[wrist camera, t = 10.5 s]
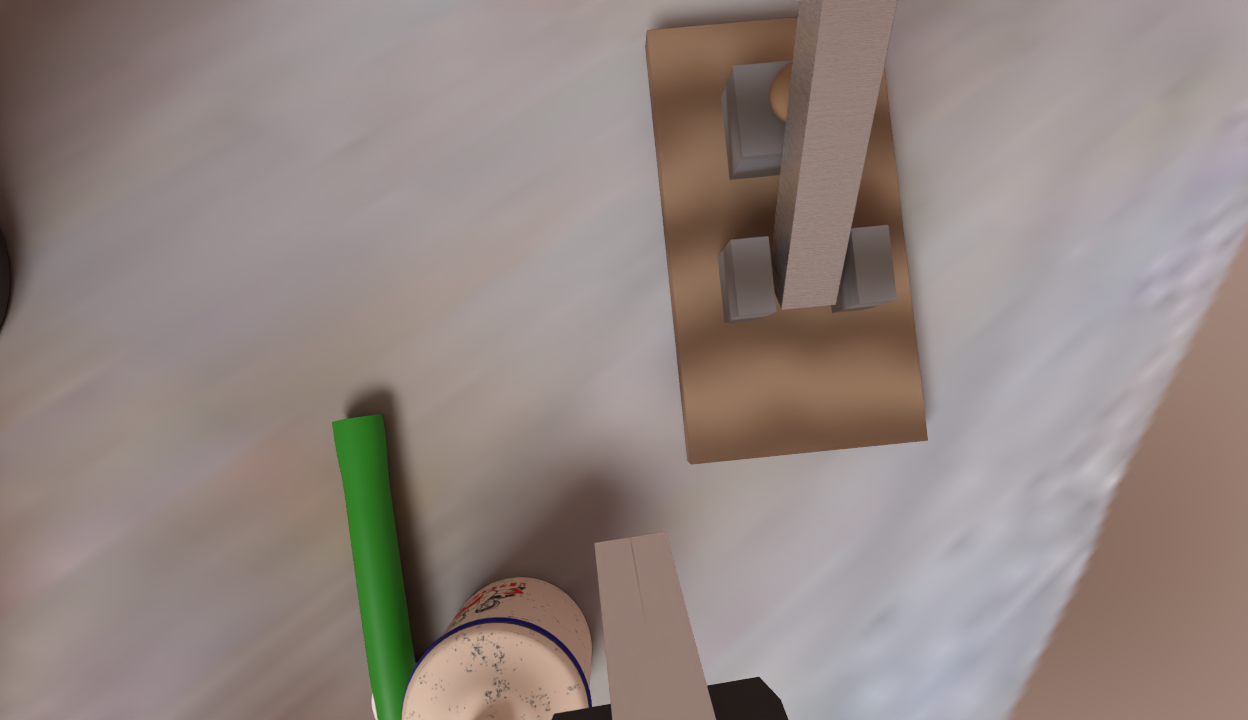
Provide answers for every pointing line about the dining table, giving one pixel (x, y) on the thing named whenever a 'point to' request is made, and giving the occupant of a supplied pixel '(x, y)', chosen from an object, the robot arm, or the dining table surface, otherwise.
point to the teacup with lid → (505, 658)
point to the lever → (826, 143)
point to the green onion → (376, 560)
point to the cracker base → (788, 345)
